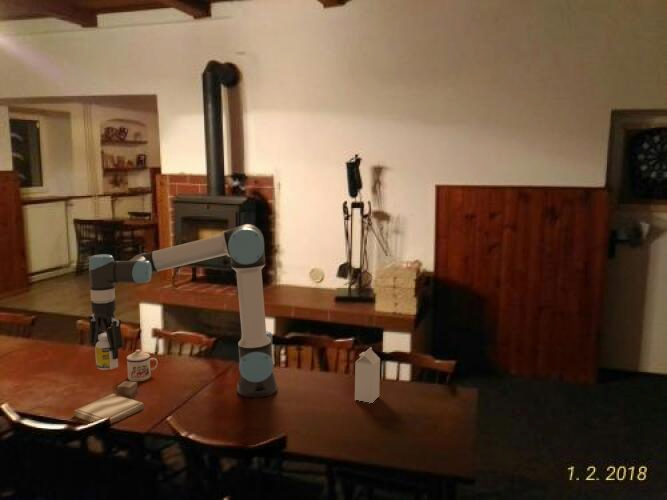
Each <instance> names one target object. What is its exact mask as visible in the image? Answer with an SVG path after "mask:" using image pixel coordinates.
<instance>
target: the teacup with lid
mask: <svg viewBox="0 0 667 500" xmlns="http://www.w3.org/2000/svg"><path fill="white" fill-rule="evenodd" d="M125 360H126V363H127V365H126V366H127V379H128V381H130V382H137V383H138V382H143V381H147V380H148V379H150V378H151V371H154V370H155V369H156V368H157V366H158V364H159V362H158V359H157V358H155V357H151V355H150V354H149V353H148V352H144V351H142V350H141V349H135V352H133V353H131V354H128V355H127V356H126V359H125ZM151 361H155V365H154V366H153V367H151Z"/></svg>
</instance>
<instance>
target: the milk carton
mask: <svg viewBox="0 0 667 500" xmlns="http://www.w3.org/2000/svg"><path fill="white" fill-rule="evenodd" d="M358 355H359V359H357V360H356V361H355V363H354V365H355V368H354V369H355V370H354V401H356V400H359V401H358V402H360V401H364V402H363V403H365V402H369V403H368V404H370V403H373V402H374V401H375V400H376V399H377V398H378V397H380V382H381V381H380V380H381V379H380V378H381V377H380V376H381V375H380V374H381V358H380V357H379V355H377V353H375V351H373V349H372V347H369V348H368V349H367V350H366V351H363V352H361V353H359V354H358ZM378 399H379V398H378ZM376 401H377V400H376ZM376 401H375V402H376ZM375 402H374V403H375ZM374 403H373V404H374Z"/></svg>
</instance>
